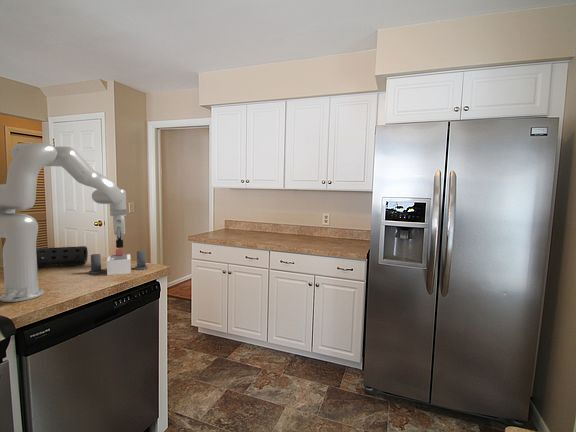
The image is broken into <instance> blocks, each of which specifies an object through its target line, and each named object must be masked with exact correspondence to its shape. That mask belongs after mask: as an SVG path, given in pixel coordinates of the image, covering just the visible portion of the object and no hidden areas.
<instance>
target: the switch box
mask: <svg viewBox="0 0 576 432" xmlns="http://www.w3.org/2000/svg"><path fill="white" fill-rule="evenodd" d="M131 260H132V258H131V254H130V253H128V254H127V253H123V255H117V256H116V254H112V255H107V259H106V274H107V276H114V275H116V276H117V275H125V274H126V275H127V274H131V272H132V268H131V267H132V265H131V264H132V263H131Z"/></svg>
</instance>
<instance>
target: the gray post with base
mask: <svg viewBox="0 0 576 432" xmlns="http://www.w3.org/2000/svg"><path fill="white" fill-rule="evenodd" d="M101 261H102V260H101V254H100V253H93V254H90V270H89V271H88V275H101V274H103V273H104V269H102V262H101Z"/></svg>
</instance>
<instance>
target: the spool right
mask: <svg viewBox="0 0 576 432" xmlns="http://www.w3.org/2000/svg"><path fill="white" fill-rule="evenodd" d="M146 261H147V260H146V250H137V251H136V266H135V267H134V270H135V271H144V269H145V270H148V269H149V266H148V265H146ZM147 268H148V269H147Z"/></svg>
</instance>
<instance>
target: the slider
mask: <svg viewBox="0 0 576 432" xmlns="http://www.w3.org/2000/svg"><path fill="white" fill-rule="evenodd" d="M123 254H124V253H123V248H115V255H116V256H117V255H123Z"/></svg>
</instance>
